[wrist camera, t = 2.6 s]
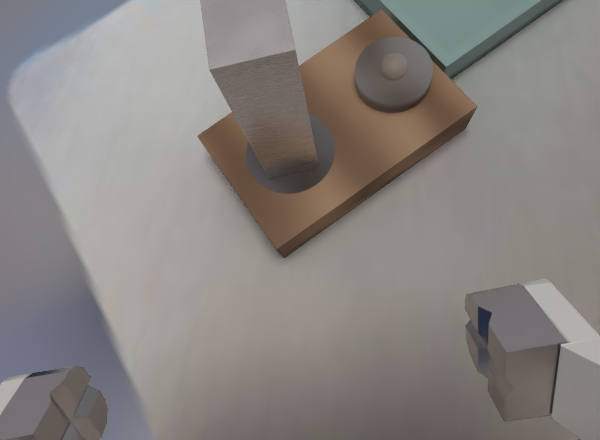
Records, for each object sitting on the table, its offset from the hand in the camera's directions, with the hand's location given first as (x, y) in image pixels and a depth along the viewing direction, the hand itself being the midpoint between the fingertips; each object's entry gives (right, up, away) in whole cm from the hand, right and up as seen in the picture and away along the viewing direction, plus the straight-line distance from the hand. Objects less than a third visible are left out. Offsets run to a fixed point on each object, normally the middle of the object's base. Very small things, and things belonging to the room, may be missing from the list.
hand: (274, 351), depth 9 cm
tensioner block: (+3, +9, +22) cm, 24 cm away
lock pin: (0, +7, +19) cm, 21 cm away
